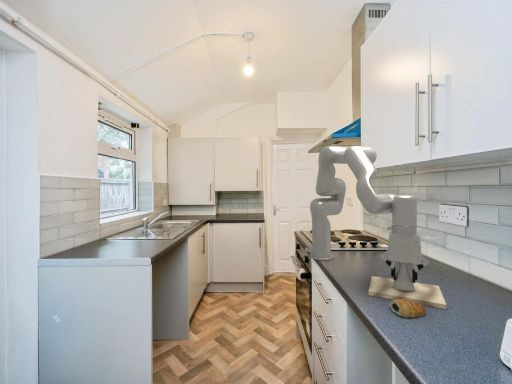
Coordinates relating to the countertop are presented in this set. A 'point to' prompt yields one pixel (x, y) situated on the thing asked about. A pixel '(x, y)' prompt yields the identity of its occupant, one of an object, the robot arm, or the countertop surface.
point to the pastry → (407, 308)
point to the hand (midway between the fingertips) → (403, 279)
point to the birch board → (408, 292)
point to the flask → (403, 279)
